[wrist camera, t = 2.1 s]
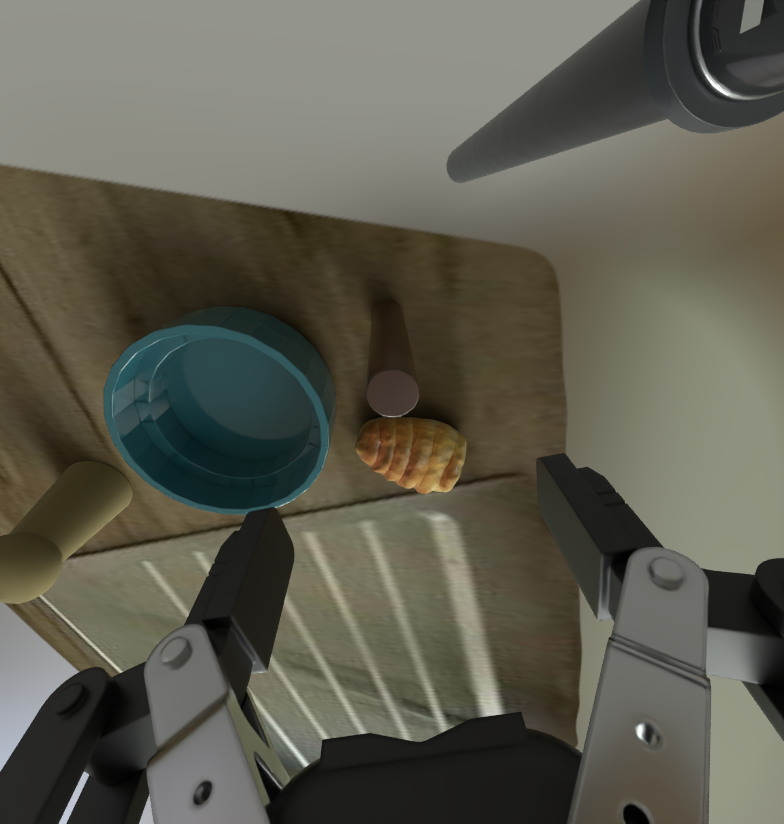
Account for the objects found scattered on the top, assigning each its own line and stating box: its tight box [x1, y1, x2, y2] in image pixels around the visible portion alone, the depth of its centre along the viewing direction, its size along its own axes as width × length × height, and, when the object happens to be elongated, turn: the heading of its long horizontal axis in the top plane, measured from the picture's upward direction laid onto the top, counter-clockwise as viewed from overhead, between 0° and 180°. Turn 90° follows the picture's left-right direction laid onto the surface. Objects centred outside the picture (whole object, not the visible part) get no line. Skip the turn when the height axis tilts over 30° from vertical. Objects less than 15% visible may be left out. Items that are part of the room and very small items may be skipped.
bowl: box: [104, 306, 336, 514], centre depth 30 cm, size 15×15×6 cm
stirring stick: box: [366, 301, 420, 417], centre depth 23 cm, size 2×2×14 cm
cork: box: [0, 461, 133, 603], centre depth 31 cm, size 6×6×11 cm
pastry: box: [355, 417, 466, 494], centre depth 33 cm, size 9×7×4 cm
